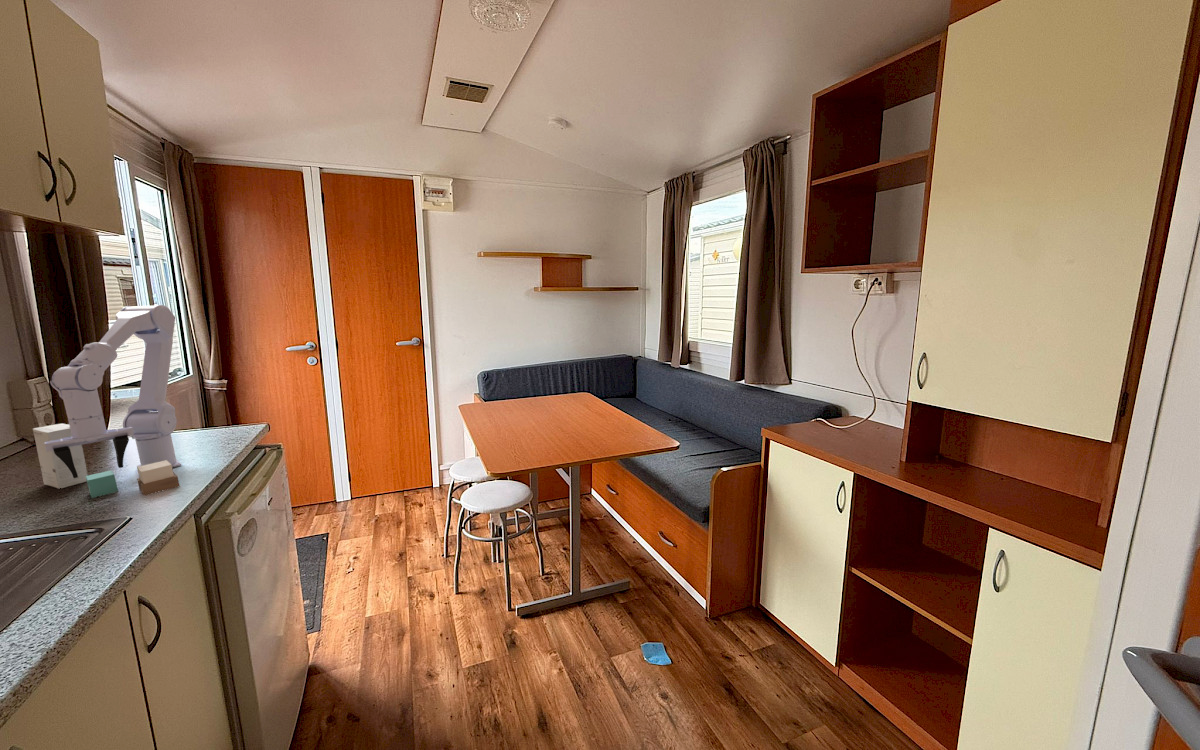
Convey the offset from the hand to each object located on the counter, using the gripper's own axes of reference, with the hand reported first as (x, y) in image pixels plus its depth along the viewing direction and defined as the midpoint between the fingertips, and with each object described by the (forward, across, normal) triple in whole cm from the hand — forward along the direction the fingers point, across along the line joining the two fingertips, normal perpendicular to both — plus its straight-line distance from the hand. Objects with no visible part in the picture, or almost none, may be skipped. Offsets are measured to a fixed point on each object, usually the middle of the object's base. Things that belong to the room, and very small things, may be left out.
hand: (98, 471), depth 118 cm
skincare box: (+6, -5, +17) cm, 19 cm away
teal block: (+5, 0, 0) cm, 5 cm away
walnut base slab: (+6, +9, -8) cm, 13 cm away
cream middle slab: (+3, +9, -8) cm, 12 cm away
